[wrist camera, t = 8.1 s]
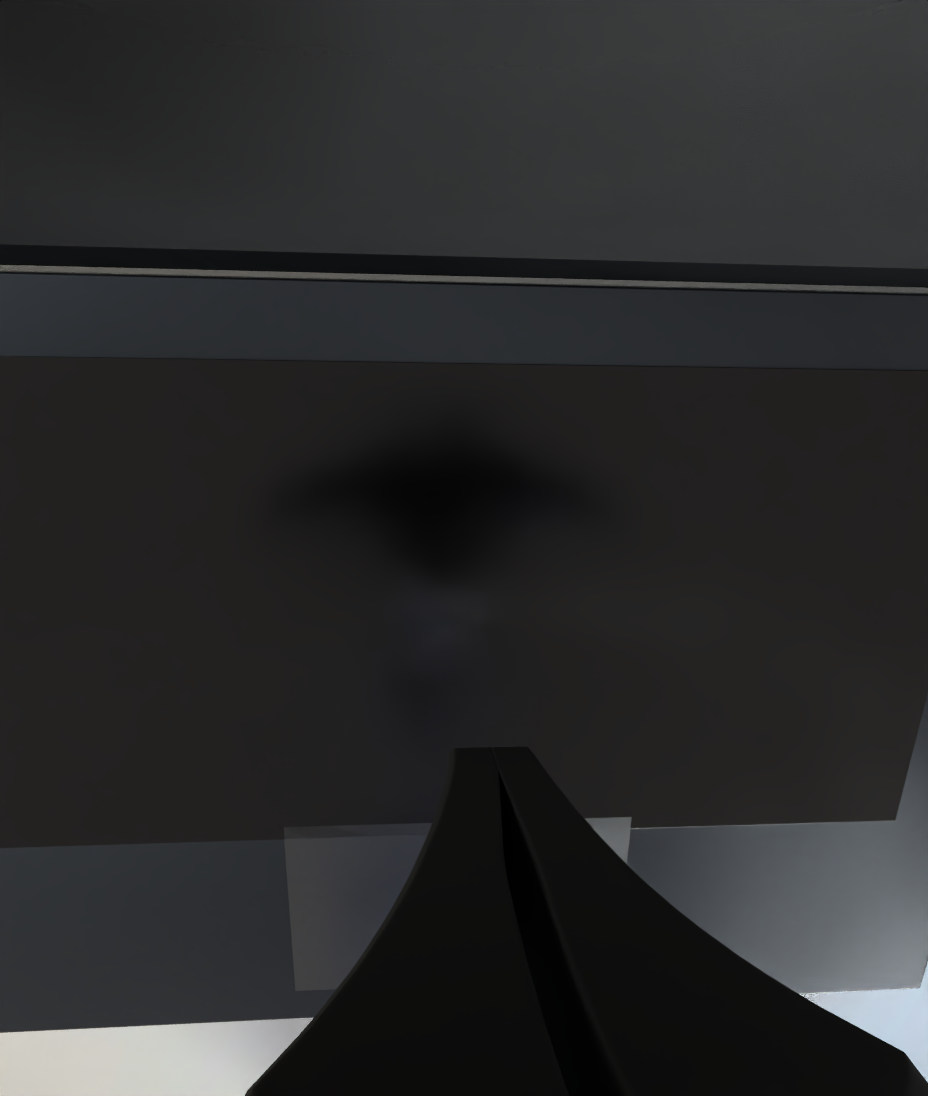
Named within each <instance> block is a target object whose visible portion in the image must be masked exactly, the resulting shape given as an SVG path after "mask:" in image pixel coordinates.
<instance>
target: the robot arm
mask: <svg viewBox="0 0 928 1096" xmlns="http://www.w3.org/2000/svg"><path fill="white" fill-rule="evenodd" d="M245 1096H928V1083H927V1081H926V1080H925V1079H924V1077H923V1076H922V1075H921V1074H920V1072H919V1071H918V1070H917V1068H916V1067H915V1066H914V1064H913V1063H912V1062H911V1060H910V1059H909V1058H908V1056H907V1055H906V1054H905V1053H904V1052H903V1051H901V1050H899V1049H897V1048H895V1047H894V1046H892V1045H890V1044H888V1043H886V1042H884V1041H882V1040H881V1039H879V1038H877V1037H875V1036H873V1035H871V1034H869V1033H868V1032H866V1031H864V1030H862V1029H860V1028H858V1027H856V1026H855V1025H853V1024H851V1023H849V1022H847V1021H845V1020H843V1019H842V1018H840V1017H838V1016H836V1015H834V1014H832V1013H830V1012H829V1011H827V1010H825V1009H823V1008H821V1007H819V1006H818V1005H816V1004H814V1003H813V1002H811V1001H809V1000H808V999H806V998H804V997H803V996H801V995H799V994H798V993H796V992H795V991H793V990H791V989H790V988H788V987H787V986H785V985H783V984H782V983H780V982H779V981H777V980H775V979H774V978H772V977H770V976H769V975H767V974H766V973H764V972H763V971H761V970H760V969H758V968H757V967H755V966H754V965H752V964H751V963H749V962H748V961H746V960H745V959H743V958H742V957H740V956H739V955H737V954H736V953H734V952H733V951H732V950H730V949H729V948H728V947H726V946H725V945H723V944H722V943H721V942H719V941H718V940H717V939H715V938H714V937H713V936H711V935H710V934H708V933H707V932H706V931H704V930H703V929H702V928H700V927H699V926H698V925H696V924H695V923H694V922H692V921H691V920H690V919H689V918H687V917H686V916H685V915H684V914H682V913H681V912H680V911H679V910H677V909H676V908H675V907H674V906H673V905H671V904H670V903H669V902H668V901H667V900H666V899H664V898H663V897H662V896H661V895H660V894H659V893H657V892H656V891H655V890H654V889H653V888H652V887H651V886H649V885H648V884H647V883H646V882H645V881H644V880H643V879H642V878H641V877H640V876H639V875H637V874H636V873H635V872H634V871H633V870H632V869H631V868H630V867H629V866H628V865H627V864H626V863H625V862H624V861H623V860H622V859H621V858H620V857H619V856H618V855H617V854H616V852H615V851H614V850H613V849H612V848H611V847H610V846H609V845H608V844H607V843H606V842H605V841H604V840H603V839H602V838H601V837H600V835H599V834H598V833H597V832H596V831H595V830H594V829H593V828H592V826H591V825H590V824H589V823H588V822H587V821H586V820H585V818H584V817H583V816H582V815H581V814H580V813H579V811H578V810H577V809H576V808H575V807H574V806H573V804H572V803H571V802H570V801H569V799H568V798H567V797H566V796H565V794H564V793H563V792H562V791H561V789H560V788H559V787H558V786H557V784H556V783H555V782H554V780H553V779H552V778H551V776H550V775H549V774H548V772H547V771H546V770H545V768H544V767H543V766H542V764H541V763H540V761H539V760H538V759H537V757H536V756H535V754H534V753H533V752H532V751H531V750H530V749H529V748H528V747H527V746H526V747H481V748H454V749H453V750H452V751H451V752H450V753H449V754H448V768H447V775H446V780H445V784H444V788H443V792H442V795H441V799H440V802H439V805H438V808H437V811H436V813H435V816H434V819H433V822H432V825H431V828H430V830H429V833H428V835H427V838H426V840H425V842H424V844H423V847H422V849H421V851H420V853H419V855H418V858H417V860H416V862H415V864H414V867H413V869H412V871H411V873H410V875H409V877H408V879H407V881H406V883H405V885H404V887H403V888H402V890H401V892H400V894H399V896H398V898H397V899H396V901H395V903H394V905H393V906H392V908H391V910H390V912H389V913H388V915H387V917H386V918H385V920H384V922H383V923H382V925H381V926H380V928H379V929H378V931H377V932H376V934H375V936H374V937H373V939H372V940H371V942H370V943H369V945H368V946H367V948H366V950H365V951H364V952H363V954H362V955H361V957H360V958H359V960H358V961H357V963H356V964H355V965H354V967H353V968H352V970H351V971H350V972H349V974H348V975H347V976H346V977H345V979H344V980H343V981H342V983H341V984H340V985H339V986H338V988H337V989H336V990H335V992H334V993H333V994H332V995H331V997H330V998H329V999H328V1000H327V1002H326V1003H325V1004H324V1006H323V1007H322V1008H321V1009H320V1011H319V1012H318V1013H317V1014H316V1016H315V1017H314V1018H313V1020H312V1021H311V1022H310V1023H309V1024H308V1025H307V1027H306V1028H305V1029H304V1030H303V1031H302V1032H301V1034H300V1035H299V1036H298V1037H297V1038H296V1039H295V1040H294V1041H293V1042H292V1043H291V1044H290V1045H289V1047H288V1048H287V1049H286V1050H285V1051H284V1052H283V1053H282V1054H281V1055H280V1056H279V1057H278V1058H277V1060H276V1061H275V1062H274V1063H273V1064H272V1065H271V1066H270V1067H269V1068H268V1069H267V1070H266V1071H265V1072H264V1074H263V1075H262V1076H261V1077H260V1078H259V1079H258V1080H257V1081H256V1082H255V1083H254V1084H253V1085H252V1086H251V1087H250V1088H249V1090H248V1091H247V1093H246V1095H245Z"/></svg>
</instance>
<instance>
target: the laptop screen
mask: <svg viewBox="0 0 928 1096" xmlns="http://www.w3.org/2000/svg"><path fill="white" fill-rule="evenodd" d="M0 265H36V266H76V267H117V268H157V269H198V270H238V271H279V272H319V273H360V274H400V275H441V276H481V277H522V278H562V279H602V280H643V281H683V282H724V283H764V284H805V285H845V286H886V287H926V288H928V0H0Z"/></svg>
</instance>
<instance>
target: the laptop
mask: <svg viewBox="0 0 928 1096" xmlns="http://www.w3.org/2000/svg"><path fill="white" fill-rule="evenodd" d="M526 746H527V747H528V748H529V749H530V750H531V751H532V752H533V753H534V754H535V756H536V757H537V759H538V760H539V761H540V763H541V764H542V766H543V767H544V768H545V770H546V771H547V772H548V774H549V775H550V776H551V778H552V779H553V780H554V782H555V783H556V784H557V786H558V787H559V788H560V789H561V791H562V792H563V793H564V794H565V796H566V797H567V798H568V799H569V801H570V802H571V803H572V804H573V806H574V807H575V808H576V809H577V810H578V811H579V813H580V814H581V815H582V816H583V817H584V818H585V820H586V821H587V822H588V823H589V824H590V825H591V826H592V828H593V829H594V830H595V831H596V832H597V833H598V834H599V835H600V837H601V838H602V839H603V840H604V841H605V842H606V843H607V844H608V845H609V846H610V847H611V848H612V849H613V850H614V851H615V852H616V854H617V855H618V856H619V857H620V858H621V859H622V860H623V861H624V862H625V863H626V864H627V865H628V866H629V867H630V868H631V869H632V870H633V871H634V872H635V873H636V874H637V875H639V876H640V877H641V878H642V879H643V880H644V881H645V882H646V883H647V884H648V885H649V886H651V887H652V888H653V889H654V890H655V891H656V892H657V893H659V894H660V895H661V896H662V897H663V898H664V899H666V900H667V901H668V902H669V903H670V904H671V905H673V906H674V907H675V908H676V909H677V910H679V911H680V912H681V913H682V914H684V915H685V916H686V917H687V918H689V919H690V920H691V921H692V922H694V923H695V924H696V925H698V926H699V927H700V928H702V929H703V930H704V931H706V932H707V933H708V934H710V935H711V936H713V937H714V938H715V939H717V940H718V941H719V942H721V943H722V944H723V945H725V946H726V947H728V948H729V949H730V950H732V951H733V952H734V953H736V954H737V955H739V956H740V957H742V958H743V959H745V960H746V961H748V962H749V963H751V964H752V965H754V966H755V967H757V968H758V969H760V970H761V971H763V972H764V973H766V974H767V975H769V976H770V977H772V978H774V979H775V980H777V981H779V982H780V983H782V984H783V985H785V986H787V987H788V988H790V989H791V990H793V991H795V992H796V993H798V994H810V993H831V992H852V991H872V990H893V989H914V988H919V987H920V985H921V982H922V978H923V975H924V972H925V968H926V965H927V961H928V293H898V292H857V291H815V290H774V289H733V288H691V287H650V286H608V285H567V284H525V283H484V282H442V281H401V280H359V279H318V278H277V277H235V276H194V275H152V274H111V273H69V272H28V271H0V1033H4V1032H24V1031H45V1030H66V1029H86V1028H107V1027H128V1026H148V1025H169V1024H190V1023H210V1022H231V1021H252V1020H273V1019H293V1018H314V1017H315V1016H316V1014H317V1013H318V1012H319V1011H320V1009H321V1008H322V1007H323V1006H324V1004H325V1003H326V1002H327V1000H328V999H329V998H330V997H331V995H332V994H333V993H334V992H335V990H336V989H337V988H338V986H339V985H340V984H341V983H342V981H343V980H344V979H345V977H346V976H347V975H348V974H349V972H350V971H351V970H352V968H353V967H354V965H355V964H356V963H357V961H358V960H359V958H360V957H361V955H362V954H363V952H364V951H365V950H366V948H367V946H368V945H369V943H370V942H371V940H372V939H373V937H374V936H375V934H376V932H377V931H378V929H379V928H380V926H381V925H382V923H383V922H384V920H385V918H386V917H387V915H388V913H389V912H390V910H391V908H392V906H393V905H394V903H395V901H396V899H397V898H398V896H399V894H400V892H401V890H402V888H403V887H404V885H405V883H406V881H407V879H408V877H409V875H410V873H411V871H412V869H413V867H414V864H415V862H416V860H417V858H418V855H419V853H420V851H421V849H422V847H423V844H424V842H425V840H426V838H427V835H428V833H429V830H430V828H431V825H432V822H433V819H434V816H435V813H436V811H437V808H438V805H439V802H440V799H441V795H442V792H443V788H444V784H445V780H446V775H447V768H448V754H449V753H450V752H451V751H452V750H453V749H454V748H481V747H526Z"/></svg>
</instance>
